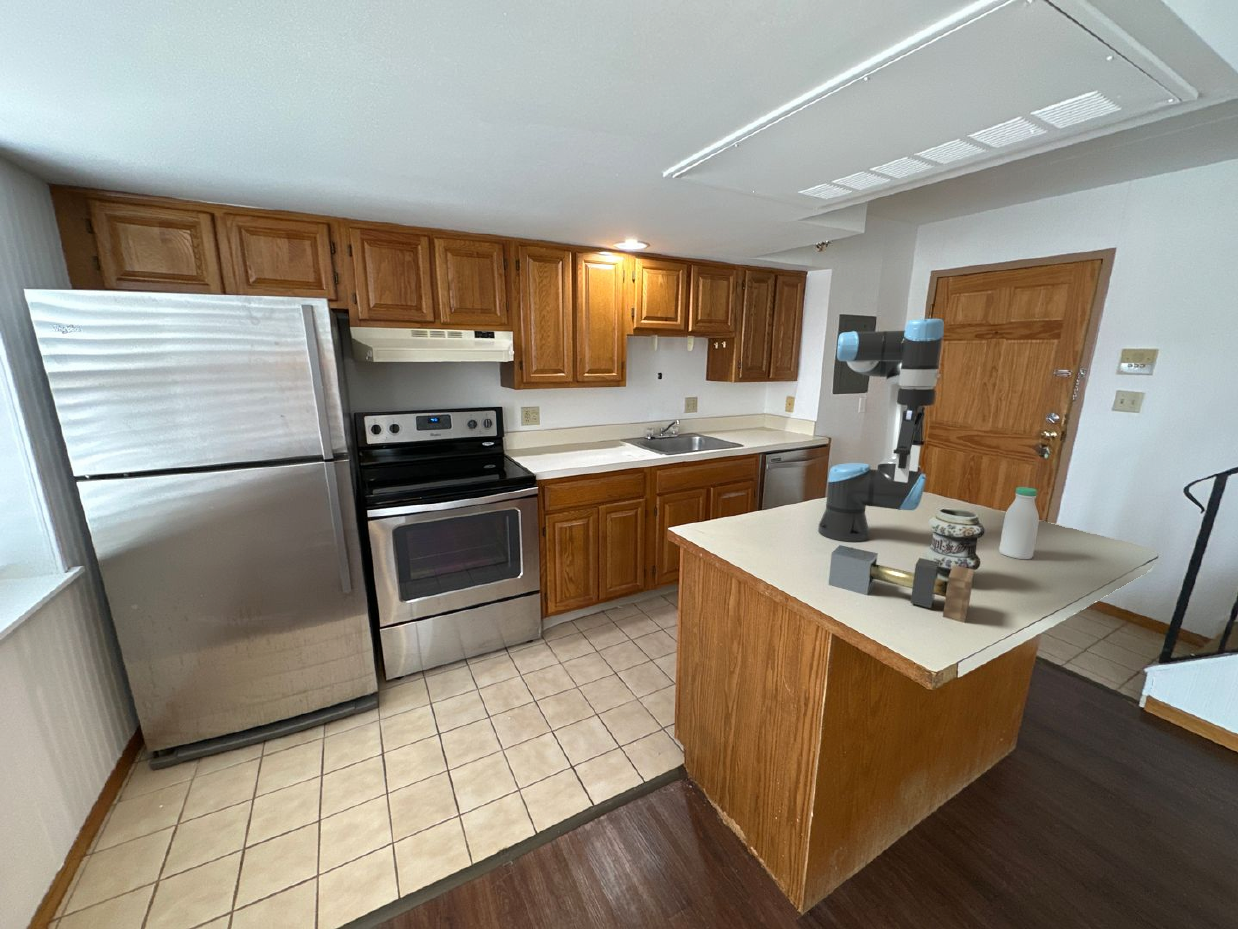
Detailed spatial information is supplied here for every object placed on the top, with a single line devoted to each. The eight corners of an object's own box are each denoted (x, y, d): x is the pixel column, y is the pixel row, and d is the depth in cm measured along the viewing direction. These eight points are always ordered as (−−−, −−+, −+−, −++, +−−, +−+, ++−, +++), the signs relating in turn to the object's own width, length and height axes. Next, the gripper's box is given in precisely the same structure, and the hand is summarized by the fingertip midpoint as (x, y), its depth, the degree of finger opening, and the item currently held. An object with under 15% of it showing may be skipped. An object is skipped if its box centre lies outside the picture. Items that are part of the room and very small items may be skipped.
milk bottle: (1038, 561, 138) (1051, 492, 133) (1007, 559, 139) (1019, 491, 135) (1022, 551, 145) (1034, 485, 141) (993, 549, 146) (1003, 484, 142)
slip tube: (859, 589, 120) (863, 553, 118) (864, 582, 124) (868, 547, 122) (957, 615, 107) (963, 575, 105) (959, 606, 111) (965, 568, 109)
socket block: (942, 616, 108) (948, 576, 106) (947, 603, 114) (953, 565, 112) (964, 622, 105) (971, 581, 103) (968, 608, 111) (974, 569, 109)
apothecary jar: (964, 571, 131) (974, 507, 128) (986, 591, 120) (998, 521, 116) (914, 567, 134) (922, 504, 130) (931, 586, 122) (941, 517, 119)
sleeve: (828, 584, 123) (831, 553, 122) (836, 575, 129) (839, 545, 127) (867, 595, 118) (870, 562, 116) (874, 585, 123) (877, 553, 121)
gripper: (927, 391, 102) (915, 489, 107) (942, 385, 121) (931, 468, 126) (887, 390, 107) (877, 483, 111) (908, 384, 126) (898, 464, 130)
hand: (906, 475), depth 119 cm, fingers open, 13 cm apart
